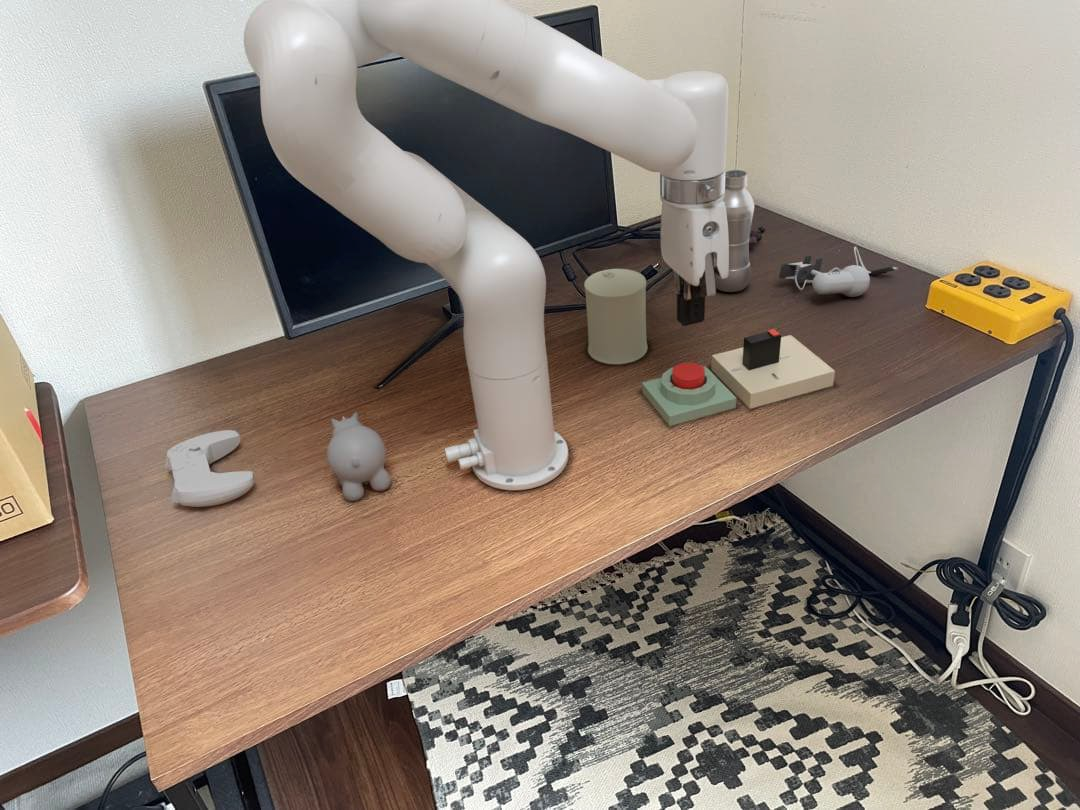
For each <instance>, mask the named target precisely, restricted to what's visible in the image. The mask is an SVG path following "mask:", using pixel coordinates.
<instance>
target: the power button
mask: <svg viewBox="0 0 1080 810" xmlns="http://www.w3.org/2000/svg"><path fill="white" fill-rule="evenodd" d="M673 367H674V368H673V370H672V383H673V385H674V386H675V387H678V388H681V389H696V388H700V387H702V386H703V384H704V382H705V370H704V368H703V366H702V365H701V364H699V363H696V362H687V361H686V362H680V363H677V365H675V366H673Z"/></svg>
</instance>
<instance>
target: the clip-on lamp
mask: <svg viewBox="0 0 1080 810" xmlns="http://www.w3.org/2000/svg"><path fill="white" fill-rule="evenodd" d="M853 254H854V258H855V262H856V264H851V265H848V266H845V267H844V268H843V269H841V268H840V267H834V268H832V269H830V270H829V271H828V272H821V267H822V262H823V258H822V257H817V258H816V259H815V262H814V263H811V260H812V255H811V254H806V255H805V256H804V259H803V260H796V261H788V262H783V263H781V265H780V270H779V273H778V274H779V276H778V277H779V279H783V280H784V279H791V280H794V283H795V286H796V287H797V289H798V291H800V292H801V291H803V290H804V288H805V286H806V284H811V285H812V289H813V291H814V292H815V293H816V294H817V295H832V294H834V295H835V294H842V295H844V296H846V297H849V298H850V297H851V298H855V297H859V296H862V295H863V294H865V293H866V292H867V291H868V289H869V287H870V282H871V277H870V274H871V275H873V276H875V275H878V276H880V275H882V274H888V273H889V272H893V271H898V270H899V267H895V266H894V265H893V266H886V267H883V268H877V269H872V270H870V271H869V270H867V268H866V267H865V265H864V263H863V260H862V257H861V255H860V252H859V250H858V248H857V246H854V247H853ZM858 260H859V261H858ZM859 263H860V265H859ZM802 283H803V285H802V287H800V285H799V284H802Z"/></svg>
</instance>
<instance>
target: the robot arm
mask: <svg viewBox="0 0 1080 810" xmlns="http://www.w3.org/2000/svg"><path fill="white" fill-rule="evenodd" d="M243 47H244V52H245V53H244V54H245V55H246V58H247V61H248V63H249V65H250V67H251V69H252V70H253V72H254V73H255V75H256V77H258V78H259V89H260V92H259V93H260V94H259V95H260V111H261V118H262V124H263V127H264V130H265V133H266V136H267V139H268V141H269V144H270V146H271V149H272V150H273V153H274V154H275V156H276V157H277V159H278V161H279V162H280V164H281V165H282V167H284V169H285V170H286V171H287V172H288V173H289V174H290V175H291V176H292V177H293V178H294V179H295V180H296V181H298V182H299V183H300V184H301V185H303V186H304V187H305V188H307V189H308V190H309V191H311V192H312V193H313V194H315V195H316V196H318V197H319V198H321V199H322V200H323V201H325V202H326V203H327V204H329V205H330V206H331V207H333V209H335V210H336V211H338V212H339V213H341V214H342V216H345V218H347V219H349V220H350V221H352V222H353V223H354V224H356V225H357V226H359V227H360V228H362V229H363V230H365V232H367V233H369V234H370V235H371V236H373V237H374V238H376V239H377V240H379V242H381V243H382V244H384V245H385V246H386V248H388V249H389V250H391V251H392V252H393V253H395V254H397V255H398V256H400V257H401V258H404V259H406V260H408V261H412V262H415V263H419V264H420V263H421V264H426V265H428V266H429V267H431V268H432V269H433V270H435V272H437V273H438V274H439V275H440V276H442V278H443V279H444V280H445V281H446V282H447V283H448V284H449V286H450V287H451V289H452V290H453V291H454V292H455V294H457V296H458V298H459V300H460V302H461V305H462V311H463V329H462V330H463V333H462V334H463V336H462V337H463V345H464V354H465V359H466V365H467V370H468V375H469V381H470V387H471V394H472V398H473V406H474V411H475V418H476V423H477V424H476V425H477V428H476V429H473V437H472V438H470V439H469V438H468V439H467V442H466V443H462V444H456V445H451V446H447V447H444V448H443V451H444V456H445V459H446V462H447V463H448V464H450V463H453V462H457V461H458V466H459V469H460V470H461V471H462V470H465V469H470V468H471V467H472V471H473V473H474V475H475V476H476V477H477V478H478V479H479V481H481V482H482V483H484V484H485V485H487V486H488V487H489V486H490V487H492V488H495V489H499V490H504V491H525V490H532V489H534V488H537V487H540V486H541V487H542V486H544V485H546V484H548V483H550V482H551V481H553V480H554V479H556V478H557V477H559V475H561V474H562V473H563V471H564V469H566V466H567V464H568V462H569V456H570V455H569V446H568V444H567V441H566V440H565V439H564V437H563V436H562V435H561V434H560V433H558V432H557V431H555V425H554V413H553V404H552V396H551V385H550V383H551V382H550V376H549V375H550V373H549V365H548V364H549V363H548V354H547V346H546V345H547V344H546V336H545V335H546V333H545V303H546V293H547V276H546V272H545V271H546V270H545V268H544V265H543V263H542V260H541V258H540V256H539V254H538V253H537V252H536V249H534V248H533V246H532V245H531V244H530V243H529V242H528V240H526V239H525V237H523V236H521V234H519V233H518V232H517V231H515V229H513V228H512V227H510V226H509V225H508V224H506V223H505V222H503V221H502V219H500V218H499V217H497V216H496V215H495V214H494V213H493V212H492V211H491V210H489V209H487V208H486V207H485V206H483V204H481V203H480V202H478V200H476V199H475V198H473V197H472V196H471V195H469V194H468V193H467V192H465V190H463V189H462V188H461V187H459V185H457V184H455V182H453V181H452V180H451V179H449V178H448V177H446V175H445V174H443V173H442V172H440V171H439V170H438V169H436V167H434V166H433V165H432V164H431V163H430V162H428V161H427V160H425V159H424V158H423V157H421V156H420V155H418V154H415V153H414V152H410V151H406V150H403V149H402V148H400V147H399V146H398V145H396V144H395V143H394V142H393V141H392V140H391V139H390V138H388V137H387V136H386V135H385V134H384V133H382V132H381V131H380V130H379V129H377V128H376V127H375V126H374V125H372V124H371V123H370V122H369V121H368V120H367V119H366V118H365V117H364V115H363V113H362V112H361V110H360V107H359V104H358V99H357V78H358V68H360V67H363V66H365V65H368V64H371V63H373V62H375V61H378V60H380V59H382V58H384V57H387V56H389V55H392V54H396V55H398V56H400V57H401V58H402V59H403V58H404V59H406V60H407V61H409V62H411V63H412V64H415V65H417V66H419V67H421V68H424V69H425V70H428V71H430V72H432V73H434V74H436V75H437V76H440V77H442V78H445V79H447V80H449V81H451V82H452V83H455V84H458V85H460V86H462V87H464V88H466V89H468V90H470V91H472V92H475V93H477V94H479V95H481V96H483V97H485V98H487V99H489V100H491V101H493V102H495V103H497V104H499V105H501V106H503V107H506V108H508V109H510V110H512V111H514V112H516V113H518V114H520V115H522V116H525V118H526V117H527V118H529V119H530V120H533V121H535V122H538V123H541V124H544V125H547V126H549V127H553V128H555V129H558V130H561V131H563V132H566V133H568V134H571V135H573V136H575V137H577V138H580V139H582V140H584V141H586V142H588V143H590V144H593V145H595V146H596V147H599V148H601V149H603V150H605V151H607V152H610V153H611V154H613V155H616V156H617V157H620V158H622V159H623V160H626V161H628V162H630V163H632V164H634V165H636V166H639V167H641V168H642V169H644V170H646V171H649V172H652V173H659V192H660V198H659V199H660V201H661V212H660V216H661V217H660V253H661V258H662V260H663V261H664V262H665V264H666V265H667V266H669V267H670V268H671V270H672V271H673V278H674V289H675V292H676V320H677V322H678V323H680V324H681V325H682V327H687V326H690V325H694V324H698V323H702V322H704V321H705V316H706V315H705V314H706V298H707V297H712V296H715V295H716V294H717V288H715V276H714V274H715V275H716V276H717V277H719V278H720V279H723V280H724V279H727V277H728V272H729V238H728V222H727V213H726V207H725V202H724V201H723V199H724V197H725V172H727V170H726V169H727V168H726V166H727V165H726V163H727V141H728V117H729V116H728V115H729V85H728V82H727V80H726V78H725V77H724V76H723V75H722V74H720V73H718V72H714V71H711V70H688V71H683V72H678V73H675V74H672V75H670V76H668V77H666V78H660V79H658V78H657V79H645V78H643V77H641V76H639V75H638V74H636V73H633V71H630V70H628V69H627V68H624V67H622V66H620V65H619V64H617V63H615V62H613V61H611V60H609V59H607V58H606V57H603V55H600V54H598V53H596V52H595V51H593V50H591V49H589V48H588V47H586V46H584V44H582V43H579V42H578V41H576V40H575V39H573V38H572V37H569V36H568V35H567V34H565V33H562V32H561V31H559V30H557V29H555V28H554V27H551V26H550V25H548V24H546V23H544V22H543V21H541V20H540V19H537V18H535V17H533V16H532V15H530V14H528V13H526V12H524V11H522V10H520V9H519V8H518V7H515V6H513V5H512V4H510V3H508V2H506V1H505V0H263V1H262V2H261V3H259V5H257V6H256V7H255V8H254V10H253V11H252V12H251V13H250V15H249V17H248V19H247V20H246V23H245V27H244V31H243Z"/></svg>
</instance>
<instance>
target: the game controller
mask: <svg viewBox="0 0 1080 810" xmlns="http://www.w3.org/2000/svg"><path fill="white" fill-rule="evenodd" d="M241 440H242V438H241V435H240V434H239V433H238V432H237V430H232V429H225V430H217V431H216V430H215V431H212V432H208V433H204V434H200V435H198V436H194V437H191V438H188V439H187V440H183V441H182V442H179V443H177V444H175V445H174V446H172V447H170V448H169V449H167V452H166V459H165V463H164V467H165V470H171V472H172V477H173V482H174V483H173V485H174V486H173V488H172V492H171V502H172V503H173V504H180V506H185V507H192V508H193V507H195V508H201V507H202V508H203V507H212V506H218V505H221V504H225V503H228V502H232V501H234V500H235V499H239V498H240V497H242V496H243V495H245V494H247V492H249V491H250V490H251V489H252V488H253V486H254V484H255V473H254V471H252V470H248V471H247V470H243V471H240V470H239V471H228V472H219V473H218V472H214V471H211V468H210V465H211V464H212V463H214V462H216V461H219V460H220V459H221V458H223V457H225V456H227V455H228V454H230V453H231V452H233V451H234V450H235V449H236V448H237V447H238V446H239V445H240V443H241Z"/></svg>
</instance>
